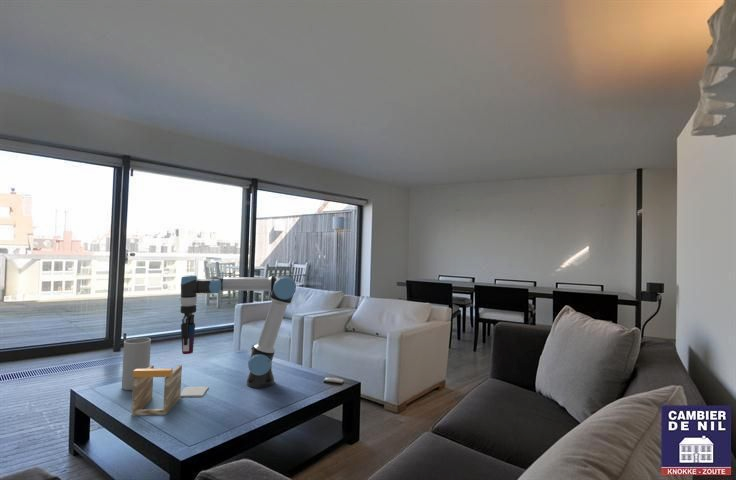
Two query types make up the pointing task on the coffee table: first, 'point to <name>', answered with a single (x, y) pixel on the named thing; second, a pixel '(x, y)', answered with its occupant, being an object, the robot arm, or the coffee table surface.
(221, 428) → the coffee table surface
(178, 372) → the cradle
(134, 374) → the tie bar
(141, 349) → the cylinder vase
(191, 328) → the cup
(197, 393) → the pad
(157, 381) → the coffee table surface
